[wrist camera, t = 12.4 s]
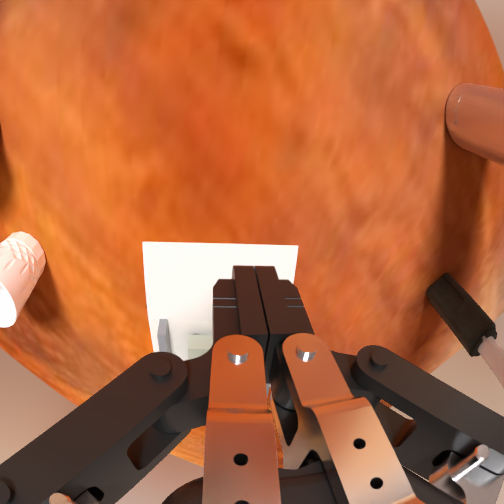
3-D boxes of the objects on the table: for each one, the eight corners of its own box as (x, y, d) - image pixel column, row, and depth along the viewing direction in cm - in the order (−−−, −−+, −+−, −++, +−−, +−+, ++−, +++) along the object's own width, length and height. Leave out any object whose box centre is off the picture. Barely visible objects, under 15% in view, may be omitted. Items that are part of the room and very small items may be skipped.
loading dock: (296, 241, 37) (308, 266, 33) (270, 375, 50) (275, 401, 45) (144, 237, 35) (134, 262, 30) (161, 375, 47) (159, 402, 42)
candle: (431, 306, 45) (511, 420, 24) (424, 290, 43) (513, 412, 22) (454, 288, 44) (538, 395, 23) (448, 270, 42) (544, 383, 20)
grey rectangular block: (249, 329, 40) (252, 349, 37) (243, 376, 45) (246, 394, 42) (188, 329, 39) (187, 348, 36) (191, 375, 44) (190, 394, 41)
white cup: (-5, 238, 31) (-45, 280, 22) (30, 217, 30) (-13, 260, 22) (23, 285, 35) (-8, 332, 26) (60, 269, 34) (28, 320, 26)
